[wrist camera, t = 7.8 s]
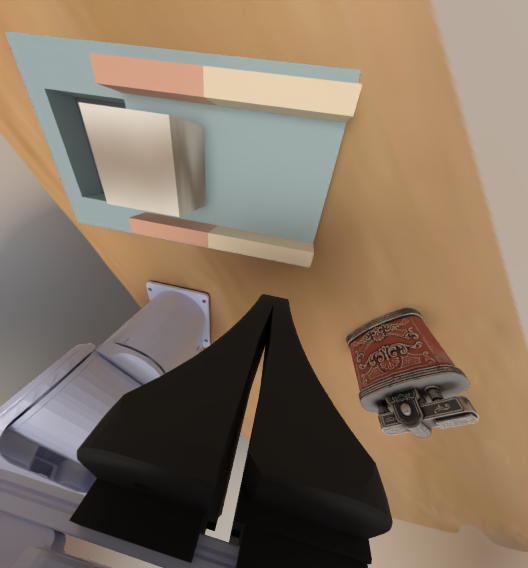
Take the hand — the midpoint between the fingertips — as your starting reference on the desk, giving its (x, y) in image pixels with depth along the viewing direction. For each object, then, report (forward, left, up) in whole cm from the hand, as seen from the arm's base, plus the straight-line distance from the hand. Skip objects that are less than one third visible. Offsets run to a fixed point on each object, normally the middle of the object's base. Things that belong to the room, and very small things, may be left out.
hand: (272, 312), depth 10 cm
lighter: (-8, -12, -11) cm, 18 cm away
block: (+5, +10, -8) cm, 13 cm away
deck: (+5, +9, -10) cm, 15 cm away
